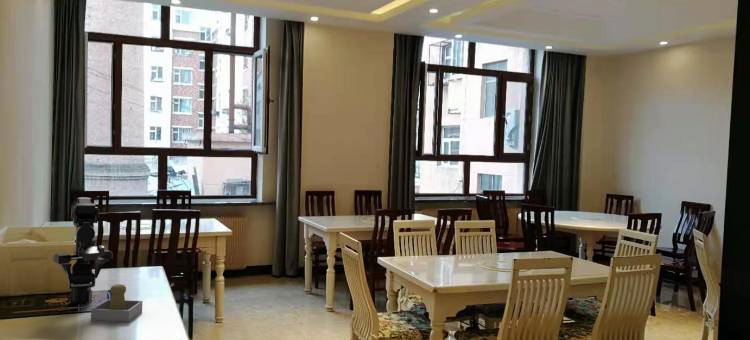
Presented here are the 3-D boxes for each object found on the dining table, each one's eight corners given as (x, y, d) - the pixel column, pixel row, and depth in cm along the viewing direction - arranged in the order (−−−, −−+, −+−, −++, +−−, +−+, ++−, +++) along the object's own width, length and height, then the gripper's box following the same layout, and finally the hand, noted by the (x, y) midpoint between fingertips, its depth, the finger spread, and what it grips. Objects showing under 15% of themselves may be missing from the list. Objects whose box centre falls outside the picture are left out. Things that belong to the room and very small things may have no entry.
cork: (111, 312, 202) (113, 282, 202) (128, 312, 203) (130, 283, 203) (105, 317, 196) (106, 286, 196) (122, 317, 197) (123, 287, 197)
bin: (90, 321, 193) (91, 309, 193) (106, 310, 206) (107, 299, 206) (128, 322, 193) (129, 310, 193) (142, 312, 206) (142, 300, 206)
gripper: (65, 242, 190) (63, 287, 190) (119, 238, 204) (118, 280, 204) (53, 238, 197) (52, 281, 198) (107, 234, 211) (105, 275, 211)
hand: (82, 279), depth 202 cm, fingers open, 9 cm apart
